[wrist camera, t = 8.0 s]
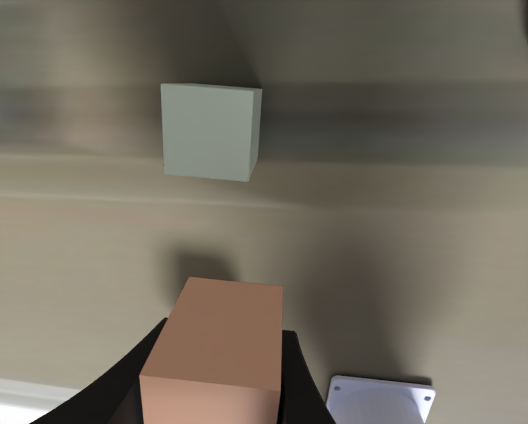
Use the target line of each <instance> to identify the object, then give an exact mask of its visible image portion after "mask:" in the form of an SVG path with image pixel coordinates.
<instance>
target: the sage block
mask: <svg viewBox="0 0 528 424" xmlns="http://www.w3.org/2000/svg"><path fill="white" fill-rule="evenodd" d="M261 100H262V89H257V88H245V87H232V86H220V85H207V84H195V83H173V84H161V104H162V127H163V151H164V174H168V175H179V176H190V177H201V178H212V179H223V180H233V181H244V182H249V179H250V176H251V174H252V171H253V169H254V166H255V164H256V161H257V159H258V145H259V130H260V115H261Z"/></svg>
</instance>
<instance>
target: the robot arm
mask: <svg viewBox="0 0 528 424" xmlns="http://www.w3.org/2000/svg"><path fill="white" fill-rule="evenodd" d="M167 319H168V318H164V319H163V320H162V321H161V322H160V323H159V324H158V325H157V326H156V327H155V328H154V329H153V330H152V331H151V332H150V333H149V334H148V335H147V336H146V337H145V338H144V339H143V340H142V341H140V342H139V343H138V344H137V345H136V346H135V347H134V348H133V349H132V350H131V351H130V352H129V353H128V354H127V355H125V356H124V357H123V358H122V359H121V360H120V361H118V362H117V363H116V364H115V365H114V366H113V367H111V368H110V369H109V370H108V371H107V372H105V373H104V374H103V375H102V376H100V377H99V378H98V379H97V380H95V381H94V382H93V383H91V384H90V385H89V386H87V387H86V388H85V389H83V390H82V391H80V392H79V393H78V394H76V395H75V396H73V397H72V398H70V399H69V400H67V401H66V402H64V403H63V404H61V405H59V406H58V407H56V408H55V409H53V410H52V411H50V412H48V413H47V414H45V415H43V416H42V417H40V418H38V419H37V420H35V421H33V422H31V423H30V424H144V420H143V409H142V399H141V388H140V378H139V375H140V373H141V371H142V369H143V367H144V365H145V363H146V361H147V359H148V357H149V355H150V353H151V351H152V349H153V347H154V345H155V343H156V341H157V339H158V337H159V335H160V333H161V331H162V329H163V327H164V325H165V323H166V321H167ZM336 386H338V387H336ZM435 394H436V392H435V390H434V388H433V387H432V386H429V385H421V384H412V383H403V382H394V381H384V380H375V379H366V378H357V377H348V376H339V375H337V376H334V377H332V379H331V383H330V388H329V393H328V398H327V403H326V405H325V403H324V401H323V399H322V397H321V395H320V393H319V391H318V389H317V387H316V385H315V383H314V381H313V379H312V376H311V374H310V372H309V369H308V367H307V365H306V362H305V359H304V357H303V354H302V351H301V348H300V345H299V341H298V337H297V334H296V332H295V331H287V330H282V356H281V393H280V400H279V408H278V416H277V424H424V423H425V421H426V418H427V416H428V413H429V410H430V408H431V405H432V402H433V400H434V397H435Z"/></svg>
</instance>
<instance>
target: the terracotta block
mask: <svg viewBox="0 0 528 424" xmlns="http://www.w3.org/2000/svg"><path fill="white" fill-rule="evenodd" d="M282 311H283V286H275V285H265V284H255V283H245V282H235V281H225V280H216V279H206V278H196V277H189V278H188V280H187V282H186V284H185V286H184V288H183V290H182V292H181V294H180V296H179V298H178V300H177V302H176V304H175V306H174V308H173V310H172V311H171V313H170V315H169V317H168V319H167V321H166V323H165V325H164V327H163V329H162V331H161V333H160V335H159V337H158V339H157V341H156V343H155V345H154V347H153V349H152V351H151V353H150V355H149V357H148V359H147V361H146V363H145V365H144V367H143V369H142V371H141V373H140V375H139V378H140V388H141V399H142V409H143V420H144V424H277V416H278V408H279V400H280V393H281V356H282Z"/></svg>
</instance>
